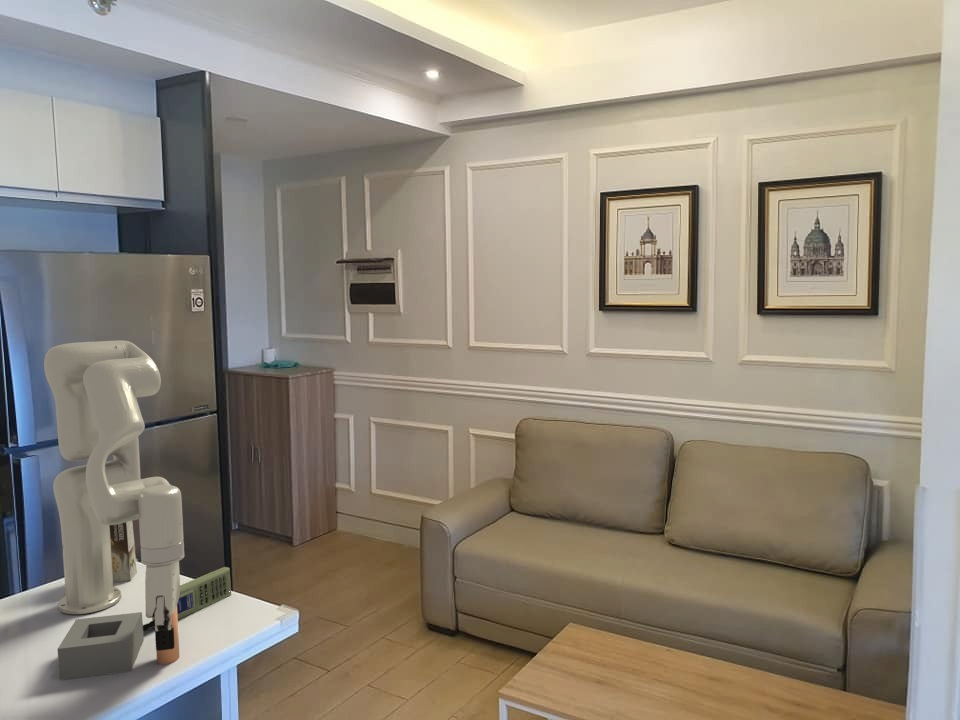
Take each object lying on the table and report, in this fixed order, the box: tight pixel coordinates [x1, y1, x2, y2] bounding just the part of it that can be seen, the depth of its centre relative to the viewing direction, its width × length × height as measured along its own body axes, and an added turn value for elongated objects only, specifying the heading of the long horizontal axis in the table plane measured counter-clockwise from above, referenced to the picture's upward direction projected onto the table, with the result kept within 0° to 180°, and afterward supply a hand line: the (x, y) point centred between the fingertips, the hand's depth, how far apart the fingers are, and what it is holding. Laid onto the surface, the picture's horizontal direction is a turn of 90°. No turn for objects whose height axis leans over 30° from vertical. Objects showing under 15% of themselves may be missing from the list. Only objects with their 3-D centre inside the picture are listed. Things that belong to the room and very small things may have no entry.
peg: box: [154, 606, 180, 665], centre depth 138 cm, size 4×4×12 cm
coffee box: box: [109, 520, 138, 583], centre depth 177 cm, size 9×6×16 cm
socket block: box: [57, 611, 144, 681], centre depth 139 cm, size 12×12×6 cm
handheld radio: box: [143, 566, 232, 633], centre depth 157 cm, size 7×3×25 cm
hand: (167, 642), depth 139 cm, fingers closed on peg, 4 cm apart
